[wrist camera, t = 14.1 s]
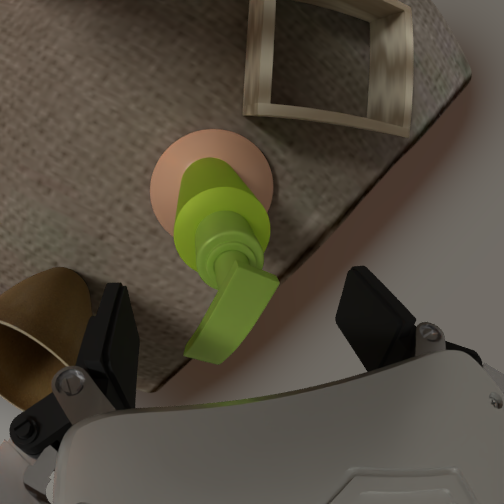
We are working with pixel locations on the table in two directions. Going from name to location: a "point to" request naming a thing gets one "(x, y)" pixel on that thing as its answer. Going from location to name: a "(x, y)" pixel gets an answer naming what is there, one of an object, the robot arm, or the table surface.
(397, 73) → the open wooden box
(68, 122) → the table surface
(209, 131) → the peach oval pebble
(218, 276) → the soap dispenser
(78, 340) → the plant pot
